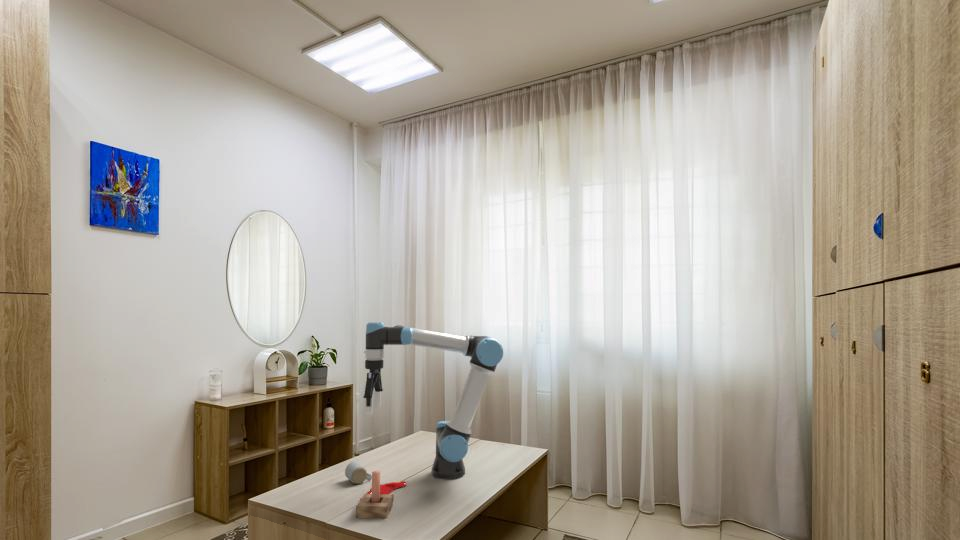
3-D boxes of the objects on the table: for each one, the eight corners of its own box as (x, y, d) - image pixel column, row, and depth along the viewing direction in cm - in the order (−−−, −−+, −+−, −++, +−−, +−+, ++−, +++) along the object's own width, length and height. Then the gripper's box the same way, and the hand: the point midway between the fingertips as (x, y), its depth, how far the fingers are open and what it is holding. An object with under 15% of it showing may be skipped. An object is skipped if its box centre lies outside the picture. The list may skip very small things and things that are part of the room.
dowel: (380, 509, 177) (381, 470, 178) (378, 513, 174) (379, 473, 175) (372, 509, 177) (373, 470, 178) (370, 512, 174) (371, 473, 175)
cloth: (402, 479, 210) (402, 474, 210) (420, 488, 199) (420, 483, 199) (346, 494, 193) (347, 488, 193) (362, 505, 182) (362, 499, 182)
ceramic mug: (351, 486, 199) (352, 467, 200) (344, 480, 206) (345, 462, 207) (375, 481, 205) (375, 463, 206) (367, 476, 212) (368, 458, 213)
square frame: (393, 505, 181) (393, 494, 181) (386, 518, 170) (387, 506, 170) (364, 504, 181) (364, 493, 182) (356, 517, 170) (356, 505, 171)
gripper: (373, 355, 213) (371, 404, 212) (357, 362, 188) (355, 417, 187) (389, 356, 213) (388, 404, 211) (375, 362, 188) (374, 417, 187)
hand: (373, 410), depth 199 cm, fingers open, 13 cm apart
